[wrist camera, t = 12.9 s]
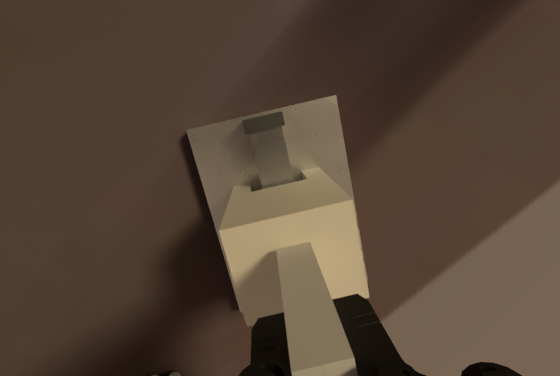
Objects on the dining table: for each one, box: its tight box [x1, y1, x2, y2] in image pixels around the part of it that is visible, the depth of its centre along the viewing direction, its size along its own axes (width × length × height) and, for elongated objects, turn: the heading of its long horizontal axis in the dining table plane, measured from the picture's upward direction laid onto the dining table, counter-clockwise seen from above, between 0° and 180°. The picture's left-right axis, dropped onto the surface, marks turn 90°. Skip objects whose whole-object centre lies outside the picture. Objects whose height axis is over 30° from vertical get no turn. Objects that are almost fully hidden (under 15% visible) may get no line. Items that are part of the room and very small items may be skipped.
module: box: [219, 167, 369, 326], centre depth 18 cm, size 6×5×8 cm
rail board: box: [186, 95, 368, 312], centre depth 21 cm, size 10×14×3 cm
